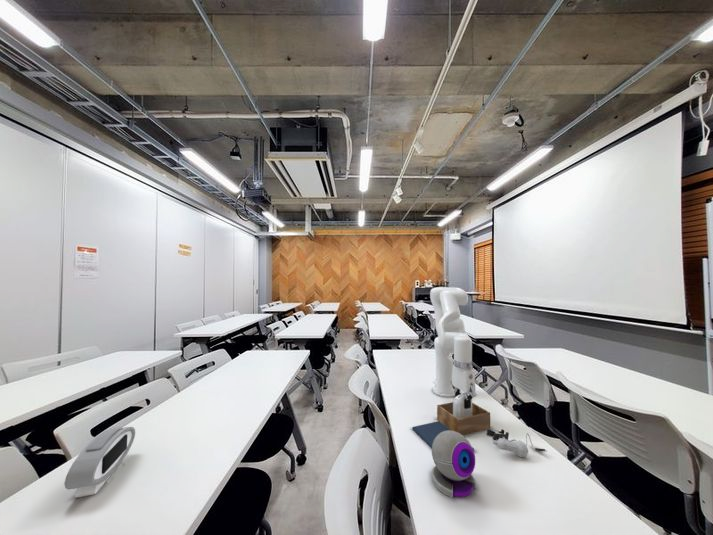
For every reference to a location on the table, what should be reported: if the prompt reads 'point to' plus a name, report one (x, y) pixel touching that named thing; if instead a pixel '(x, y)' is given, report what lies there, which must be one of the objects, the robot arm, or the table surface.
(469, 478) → the webcam
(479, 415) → the wooden box
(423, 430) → the mat
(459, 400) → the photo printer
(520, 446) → the clip-on lamp
